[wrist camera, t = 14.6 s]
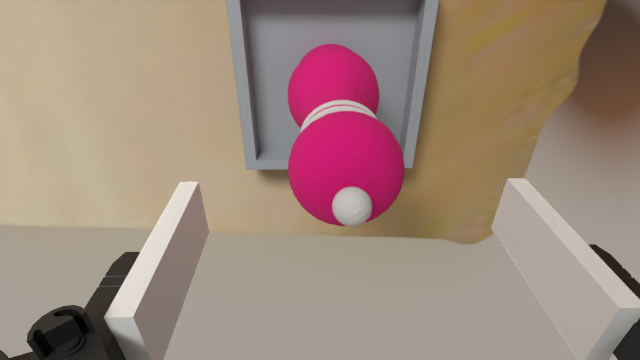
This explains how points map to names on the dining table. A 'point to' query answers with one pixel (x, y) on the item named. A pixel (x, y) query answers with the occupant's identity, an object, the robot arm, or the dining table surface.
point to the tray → (315, 30)
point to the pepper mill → (341, 139)
